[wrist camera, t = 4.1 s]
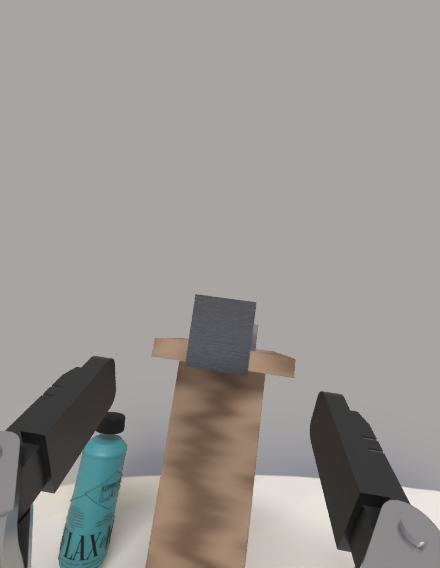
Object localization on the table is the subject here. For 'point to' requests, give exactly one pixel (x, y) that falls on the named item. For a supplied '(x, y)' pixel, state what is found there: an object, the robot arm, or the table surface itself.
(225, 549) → the walnut pedestal
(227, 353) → the steel bar
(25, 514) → the robot arm
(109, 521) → the beverage bottle
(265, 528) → the table surface
